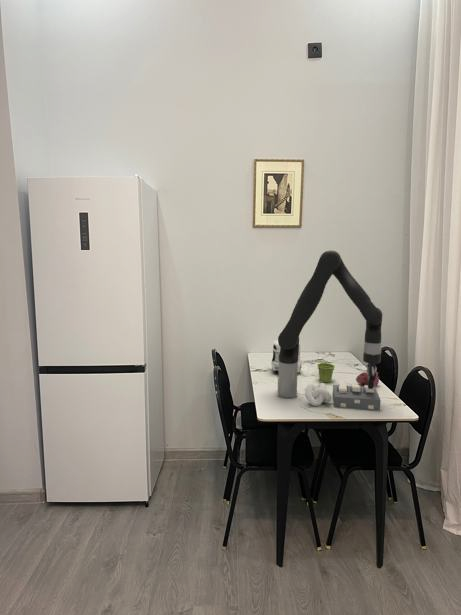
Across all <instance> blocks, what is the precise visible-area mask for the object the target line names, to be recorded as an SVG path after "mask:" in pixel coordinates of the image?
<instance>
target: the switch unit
mask: <svg viewBox="0 0 461 615" xmlns="http://www.w3.org/2000/svg"><path fill="white" fill-rule="evenodd" d="M359 386H360V385H359ZM346 387H347V393H339V384H332V401H333V407H334V408H339V409H342V408H343V409H353V410H354V409H355V410H364V411H366V410H367V411H378V410H380V411H381V402H382V400H381V398H380V395H379V393H378V390H377V389H376V386H373V388H374V393H372V392H366V391H365V387H364V386H360V392H355V391H352V387H351V385H346Z"/></svg>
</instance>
